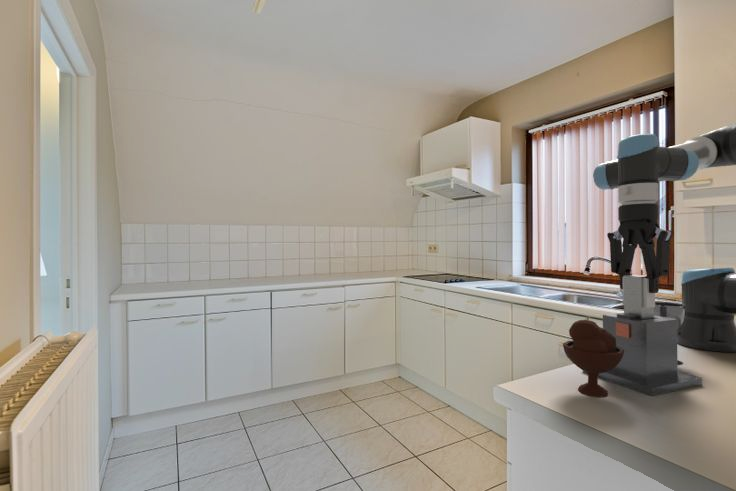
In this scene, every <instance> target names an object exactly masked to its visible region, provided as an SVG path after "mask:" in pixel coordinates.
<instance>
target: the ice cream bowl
mask: <svg viewBox="0 0 736 491" xmlns="http://www.w3.org/2000/svg"><path fill="white" fill-rule="evenodd" d="M568 333H569V335H568V336H569V337H570V338H571V340H567V341H565V342H563V343H562V347H563V351H564V353H565V355H566V357H567V359H569V361H571V363H572V364H574V365H575V366H576V367H578V368H579V369H580V370H581V371H583V370H584V371H586V372H587V373H586V372H585V373H586V374H587V382H585V383H583V384H580V385H579V386H578V388H577V390H578V391H579V392H580V393H581V394H584V395H586V396H589V397H596V398H603V397H608V395H609V392H608V390H607V389H606V388H604V387H603V386H601V385H600V384H599V382H598V381H599V380H598V378H599V377H598V375H599V373H605V372H608V371H610V370H612V369H613V368H614V367H616V366H617V365H618V364H619V363H620V361H621V359H622V358H623V354H624V349H622V348H620V347H618V346H616V338H615V337H614V336H613V335H612V334H611V333H609V332H608V331H607V330H605V329H603V327H601V326H599V325H598V324H597V323H596V322H594V321H593V320H588V319H580V320H577V321H574V322H573V323H572V324H571V326H570V327H569V329H568Z"/></svg>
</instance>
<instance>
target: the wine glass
mask: <svg viewBox="0 0 736 491" xmlns="http://www.w3.org/2000/svg"><path fill="white" fill-rule="evenodd" d="M654 316H660V317H666V318H672V319H677V330H679V329H680V328H681V327H682V324H683V321H684V317H685V305H684V304H682V302H681V303H680V302H672V301H659V300H658V301H656V300H655V307H654ZM683 364H684V362H683V361H681V360H680V359H677V366H681V365H683Z"/></svg>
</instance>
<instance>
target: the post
mask: <svg viewBox="0 0 736 491" xmlns="http://www.w3.org/2000/svg"><path fill="white" fill-rule="evenodd" d="M645 276H647V274H645V275H644V274H643V275H642V274H632V275H624V304H623V313H625V314H631V315H637V319H639V320H648V319H654V307H652V308H644V303H643V278H645Z"/></svg>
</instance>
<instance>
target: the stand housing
mask: <svg viewBox="0 0 736 491" xmlns="http://www.w3.org/2000/svg"><path fill="white" fill-rule="evenodd" d="M602 328H603V329H605V330H607V331H608V332H609V333H611V334H612V335H613V336H614V337H615V338H616V346H618V347H620V348H622V349H624V354H623V358H622V359H621V361H620V363H619V364H618V365H617V366H616V367H614V368H613V369H612V370H610V371H608V372H605V373H599V375H598V378H600V379H604V380H606V381H609V382H611V381H612V383H614V382H615V383H614V384H617V383H618V384H617V385H621V386H623V387H626V388H629V389H630V390H631V389H632V390H634V391H637V392H639V393H642V394H645V395H648V396H651V397H654V396H658V395H663V394H667V393H672V392H676V391H682V390H686V389H689V388H690V389H691V388H695V387H700V386H702V385H703V378H702V377H701V376H697V375H693V374H690V373H686V372H683V371H679V370H678V365H677V360H678V343H677V319H672V318H666V317H660V316H654V319H648V320H639V319H637V315H631V314H625V313H624V312H619V313H618V312H617V313H616V312H615V313H608V314H602ZM582 372H584V373H586V374H587V372H586V371H584V370H582Z"/></svg>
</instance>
